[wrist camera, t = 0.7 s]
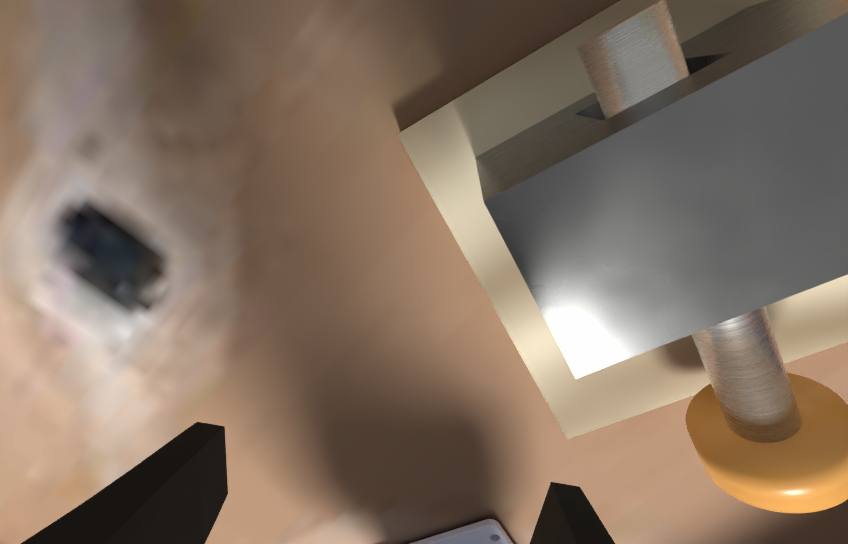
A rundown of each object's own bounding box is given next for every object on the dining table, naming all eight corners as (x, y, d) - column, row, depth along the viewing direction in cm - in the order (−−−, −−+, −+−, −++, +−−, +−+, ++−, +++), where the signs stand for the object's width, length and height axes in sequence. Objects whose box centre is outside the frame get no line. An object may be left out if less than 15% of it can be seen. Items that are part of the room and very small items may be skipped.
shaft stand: (875, 311, 17) (1153, 460, 10) (562, 423, 20) (614, 593, 14) (781, -97, 13) (1164, -319, 6) (400, 131, 16) (353, 164, 9)
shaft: (798, 387, 16) (911, 487, 12) (678, 427, 17) (744, 531, 13) (671, -12, 12) (781, -64, 8) (521, 76, 13) (548, 71, 9)
